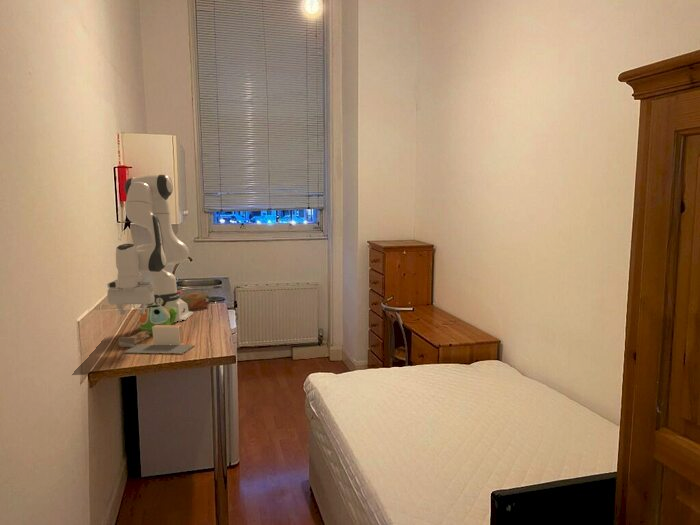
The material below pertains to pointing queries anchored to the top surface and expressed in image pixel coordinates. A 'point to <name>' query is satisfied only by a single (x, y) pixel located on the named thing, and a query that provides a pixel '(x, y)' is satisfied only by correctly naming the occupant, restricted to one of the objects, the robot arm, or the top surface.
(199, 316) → the top surface
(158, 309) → the turtle holder
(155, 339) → the tile
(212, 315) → the top surface
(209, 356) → the top surface
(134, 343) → the scraper
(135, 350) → the mat
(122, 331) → the top surface
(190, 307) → the brown rounded slab
